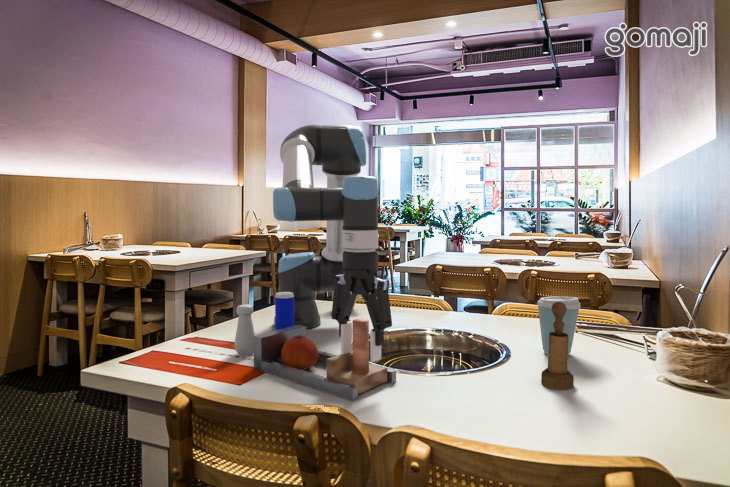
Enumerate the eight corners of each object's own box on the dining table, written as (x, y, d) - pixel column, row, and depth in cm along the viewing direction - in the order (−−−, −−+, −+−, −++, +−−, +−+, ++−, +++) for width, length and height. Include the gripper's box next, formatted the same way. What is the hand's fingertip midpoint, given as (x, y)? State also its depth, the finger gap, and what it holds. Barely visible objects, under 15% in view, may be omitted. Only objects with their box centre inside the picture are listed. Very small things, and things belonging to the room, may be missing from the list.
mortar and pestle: (570, 392, 105) (572, 306, 104) (538, 386, 108) (539, 303, 107) (575, 382, 111) (578, 301, 109) (545, 377, 114) (546, 298, 113)
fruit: (287, 377, 115) (286, 342, 114) (277, 365, 123) (277, 333, 123) (324, 371, 119) (323, 338, 118) (312, 361, 127) (312, 329, 126)
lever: (359, 373, 116) (359, 313, 115) (387, 381, 111) (387, 318, 110) (326, 386, 108) (326, 321, 107) (355, 395, 103) (354, 327, 101)
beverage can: (298, 345, 141) (297, 292, 139) (288, 350, 136) (287, 295, 135) (282, 343, 143) (281, 291, 142) (272, 348, 138) (271, 293, 137)
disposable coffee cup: (528, 354, 132) (529, 297, 131) (546, 345, 140) (547, 291, 139) (569, 362, 125) (571, 302, 123) (585, 353, 132) (587, 296, 131)
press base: (298, 354, 132) (298, 324, 131) (396, 381, 112) (396, 346, 111) (253, 368, 121) (253, 335, 120) (352, 401, 101) (352, 361, 100)
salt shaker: (251, 357, 129) (250, 307, 128) (230, 356, 131) (229, 307, 130) (260, 351, 135) (259, 303, 134) (240, 350, 136) (239, 302, 135)
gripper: (313, 248, 110) (314, 351, 112) (388, 254, 97) (388, 370, 99) (337, 246, 116) (337, 344, 118) (410, 251, 103) (410, 361, 104)
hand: (360, 356), depth 108 cm, fingers open, 8 cm apart
